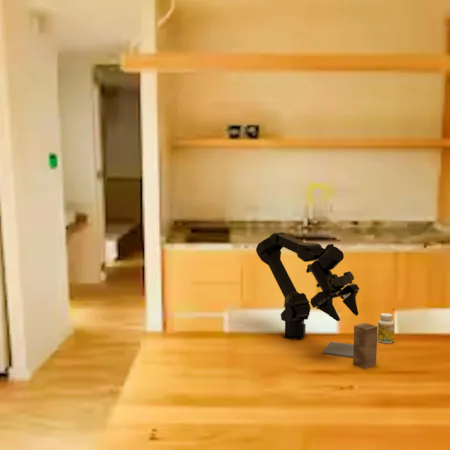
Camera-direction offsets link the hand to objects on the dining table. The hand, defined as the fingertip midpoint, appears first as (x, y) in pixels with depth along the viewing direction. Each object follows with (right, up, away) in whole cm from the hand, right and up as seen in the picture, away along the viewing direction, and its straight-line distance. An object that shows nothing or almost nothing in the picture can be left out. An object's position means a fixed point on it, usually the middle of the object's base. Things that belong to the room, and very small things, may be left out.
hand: (348, 317), depth 190 cm
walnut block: (+4, -14, -5) cm, 15 cm away
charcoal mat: (0, -12, +8) cm, 14 cm away
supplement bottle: (+17, -11, +17) cm, 26 cm away
